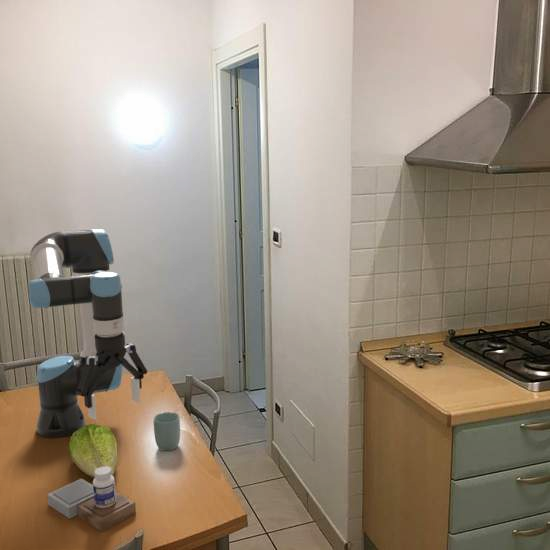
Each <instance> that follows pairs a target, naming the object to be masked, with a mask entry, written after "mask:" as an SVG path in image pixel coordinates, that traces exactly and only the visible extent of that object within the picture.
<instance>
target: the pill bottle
mask: <svg viewBox="0 0 550 550" xmlns="http://www.w3.org/2000/svg"><path fill="white" fill-rule="evenodd" d="M94 473H95V478H93V480H92V485H93V490H94V501H95V505H96V506H97V507H99V508H107V507H110V506H112V505H113V504H114V503H115V502H116V492H117V491H116V482H115V477H114V475H113V476H112V475H111V468H109V467H100V468H97V469H96V470H95V472H94Z"/></svg>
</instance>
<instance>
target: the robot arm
mask: <svg viewBox="0 0 550 550" xmlns="http://www.w3.org/2000/svg"><path fill="white" fill-rule="evenodd" d="M29 255H30V256H29V257H30V263H31V265H32V267H33V268H34V274H35V275H34V276H35V279H31V280H29V281H28V284H27V285H28V297H29V305H30V307H32V308H33V309H49V308H55V307H64V306H72V305H80V313H81V314H80V315H81V322H82V334H83V336H82V337H83V344H84V345H83V346H84V349H83V350H82V351H81V352H80V353H79V354H80V355H79V356H80V359H75V358H74V357H73V356H71V355H59V356H55V357H51V358H49V359H46V360H44V361H43V362H41V363H40V364H39V365H38V367H37V370H36V372H37V373H36V374H37V378H36V382H37V384H38V396H39V397H38V398H39V405H40V406H39V407H40V409H39V412H38V413H39V414H38V418H37V421H36V422H37V423H36V432H37V434H38V435H40V436H41V437H44V438H62V437H66V436H70V435H71V436H72V435H73V433H74V432H76V431H77V430H79V429H81V428H82V427H83V426H86V417H85V415H84V413H83V411H82V409H81V407H80V404H79V402H78V396H81V397H84V400H83V401H84V406H85V407H86V408H87V415H88V418H90V419H92V420H98V416H97V415H98V413H97V403H96V395H95V394H98V393H107V392H110V391H115V390H117V389H119V388H120V386H121V384H122V380H123V379H122V378H123V368H124V369H126V370H127V371H128V372H129V373H130V374H131V375H132V377H130V383H131V384H130V385H131V386H130V387H131V398H132V401H134V402H136V403H140V402H141V401H142V400H141V389H142V385H143V384H142V380H143V379H144V377H145V376H144V375H147V373H148V370H147V368H146V366H145V364H144V363H143V361H142V360H141V358H140V356H139V355H138V352H137V347H136V345H135V344H132V343H129V342H128V343H127V344H126V337H125V332H124V331H125V324H124V311H123V296H122V294H123V293H122V290H123V284H122V282H121V276H120V274H119V273H117V272H113V271H110V265H112V264H114V262H115V260H114V252H113V249H112V244H111V241H110V237H109V234H108V233H107V231H106V230H105V229H103V228H102V229H100V228H99V229H95V228H92V229H91V228H90V229H80V230H78V229H77V230H68V231H55V232H52V233H50V234H47V235H45V236H44V237H41V238H40V239H39V240H37V242H36V243H35V244H34V245H33V247H32V248H31V250H30V254H29ZM65 268H66V269H68V268H69V269H70V268H72V269H71V270H72V273H73V275H70V276H69V275H68V276H65V273H64V269H65ZM126 353H127V354H128V356H129V357H130V359H131V361H132V363H133V364H134V366H133V365H132V364H131V363H130V362H129V360H127V359H126V358H125V355H127V354H126Z"/></svg>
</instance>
